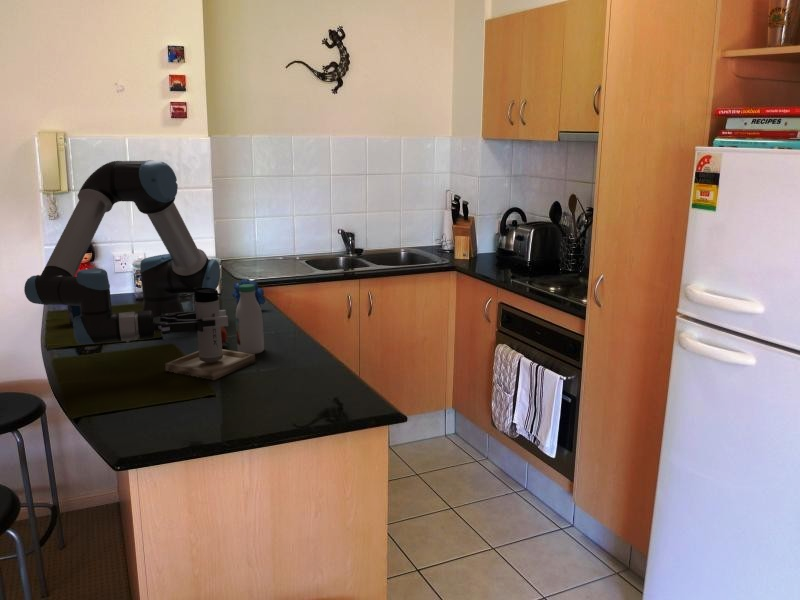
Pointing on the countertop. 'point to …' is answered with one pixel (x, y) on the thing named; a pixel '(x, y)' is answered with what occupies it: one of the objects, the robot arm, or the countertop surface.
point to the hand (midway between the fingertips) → (226, 317)
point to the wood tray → (210, 364)
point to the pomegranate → (223, 335)
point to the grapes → (258, 292)
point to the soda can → (73, 312)
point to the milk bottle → (249, 322)
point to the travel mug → (210, 336)
